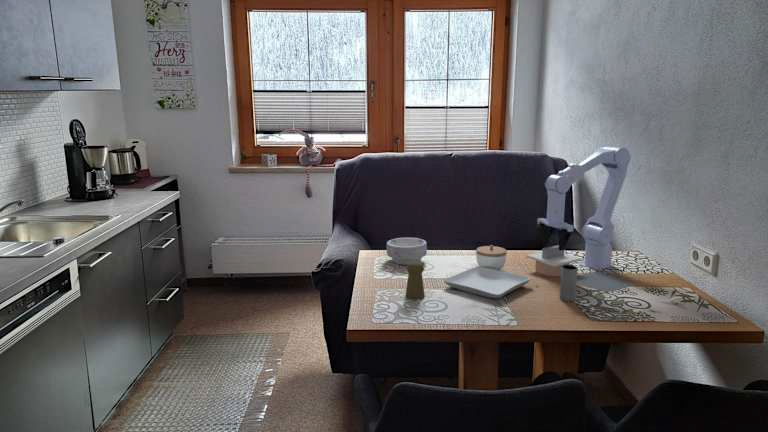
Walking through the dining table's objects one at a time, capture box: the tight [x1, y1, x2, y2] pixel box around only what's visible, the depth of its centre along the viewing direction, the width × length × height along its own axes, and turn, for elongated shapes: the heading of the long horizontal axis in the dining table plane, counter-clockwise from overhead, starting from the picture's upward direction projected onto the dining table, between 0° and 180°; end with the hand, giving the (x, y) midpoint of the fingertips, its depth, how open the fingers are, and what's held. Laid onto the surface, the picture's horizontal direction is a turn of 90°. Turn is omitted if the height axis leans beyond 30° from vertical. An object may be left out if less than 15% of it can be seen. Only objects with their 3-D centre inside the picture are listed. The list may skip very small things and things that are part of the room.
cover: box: [525, 244, 582, 266], centre depth 191 cm, size 13×13×4 cm
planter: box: [559, 264, 578, 302], centre depth 166 cm, size 4×4×10 cm
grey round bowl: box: [386, 237, 428, 266], centre depth 205 cm, size 15×15×8 cm
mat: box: [576, 270, 637, 293], centre depth 182 cm, size 16×16×1 cm
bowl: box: [535, 260, 570, 277], centre depth 192 cm, size 11×11×5 cm
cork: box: [404, 261, 425, 301], centre depth 168 cm, size 6×6×11 cm
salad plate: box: [443, 265, 532, 299], centre depth 177 cm, size 21×21×3 cm
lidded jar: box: [475, 244, 507, 271], centre depth 194 cm, size 11×11×9 cm
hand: (553, 247), depth 191 cm, fingers open, 7 cm apart
